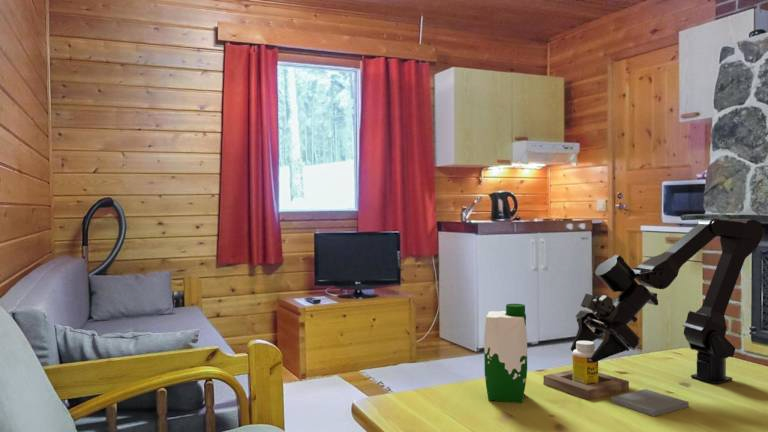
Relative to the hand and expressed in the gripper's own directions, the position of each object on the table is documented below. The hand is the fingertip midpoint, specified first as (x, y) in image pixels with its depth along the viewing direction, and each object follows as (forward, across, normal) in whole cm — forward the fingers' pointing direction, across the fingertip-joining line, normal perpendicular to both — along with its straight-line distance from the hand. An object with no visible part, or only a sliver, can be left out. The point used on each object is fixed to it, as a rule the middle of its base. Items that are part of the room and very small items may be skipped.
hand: (581, 355), depth 134 cm
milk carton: (+19, +3, -8) cm, 21 cm away
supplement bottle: (+5, 0, +6) cm, 7 cm away
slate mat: (0, +13, +11) cm, 17 cm away
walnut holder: (+4, 0, +6) cm, 7 cm away
